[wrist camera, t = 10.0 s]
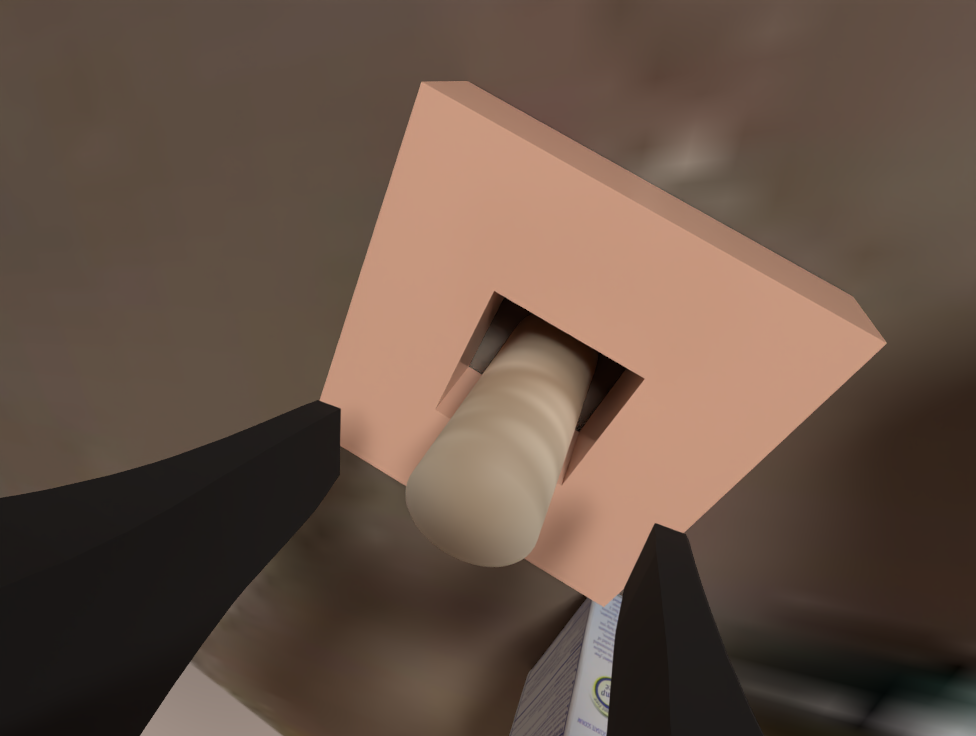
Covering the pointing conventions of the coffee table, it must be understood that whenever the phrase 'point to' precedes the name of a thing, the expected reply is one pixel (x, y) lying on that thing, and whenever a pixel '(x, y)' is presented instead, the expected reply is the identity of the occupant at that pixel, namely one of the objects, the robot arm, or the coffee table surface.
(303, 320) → the coffee table surface
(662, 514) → the socket block
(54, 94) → the coffee table surface
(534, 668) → the medicine box
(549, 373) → the peg
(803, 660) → the coffee table surface
